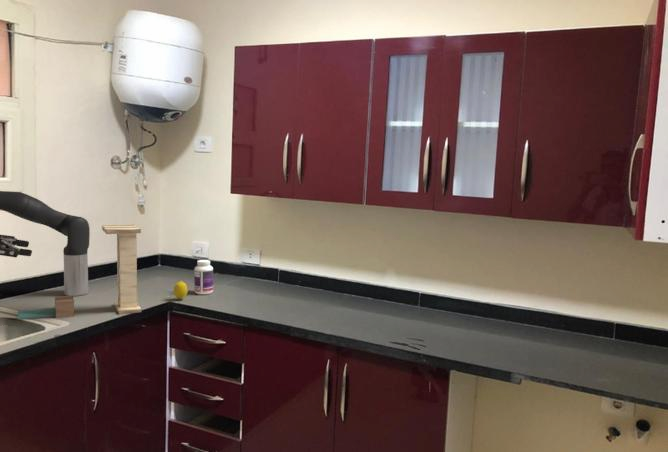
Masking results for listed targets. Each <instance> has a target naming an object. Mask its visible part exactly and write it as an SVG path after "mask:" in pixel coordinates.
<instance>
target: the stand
mask: <svg viewBox="0 0 668 452" xmlns="http://www.w3.org/2000/svg"><path fill="white" fill-rule="evenodd" d="M101 229H102V231H103V232H104V233H105V234H106V235H116V259H117V260H116V261H117V262H116V268H117V269H116V270H117V273H116V274H117V275H116V276H117V277H116V278H117V301H113V305H114V307H115V310H116V311H117V312H118V314H119V315H124V314H136V313H138V314H139V313H142V308H141V306H140V305H139V303H138V269H137V268H138V267H137V266H138V264H137V262H138V259H137V258H138V254H137V241H138V240H137V234H141V233H142V231H141V230H142V229H141V228H140V227H138V226H137V225H135V224H111V225H110V224H108V225H107V224H106V225H105V224H104V225H101Z"/></svg>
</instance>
